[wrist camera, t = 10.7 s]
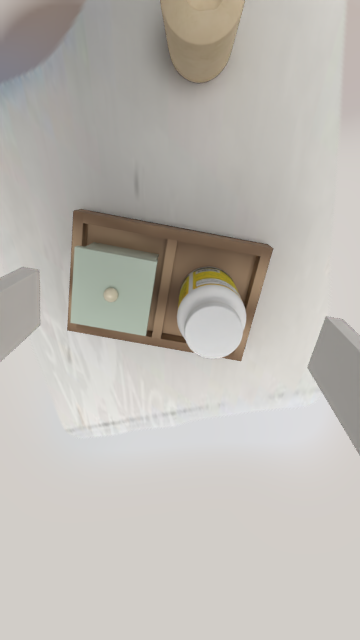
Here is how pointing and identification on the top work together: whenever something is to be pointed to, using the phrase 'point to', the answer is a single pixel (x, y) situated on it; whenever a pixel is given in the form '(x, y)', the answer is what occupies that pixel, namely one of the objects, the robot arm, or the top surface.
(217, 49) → the candle
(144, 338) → the organizer tray
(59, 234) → the top surface
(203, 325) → the pill bottle
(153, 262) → the trinket box
